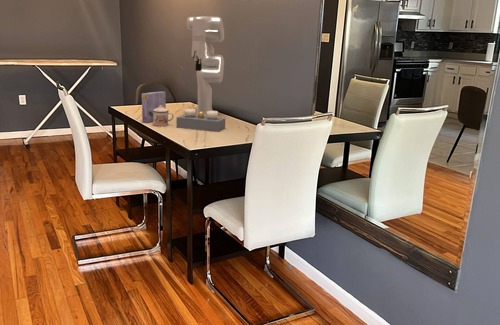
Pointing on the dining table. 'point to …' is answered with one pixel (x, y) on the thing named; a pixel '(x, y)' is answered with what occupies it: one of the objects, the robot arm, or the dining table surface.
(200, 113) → the brass ball
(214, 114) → the ivory knob
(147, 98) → the cake pan box
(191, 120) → the mount
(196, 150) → the dining table surface
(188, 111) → the ivory knob
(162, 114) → the teacup with lid
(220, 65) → the robot arm
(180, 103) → the dining table surface
